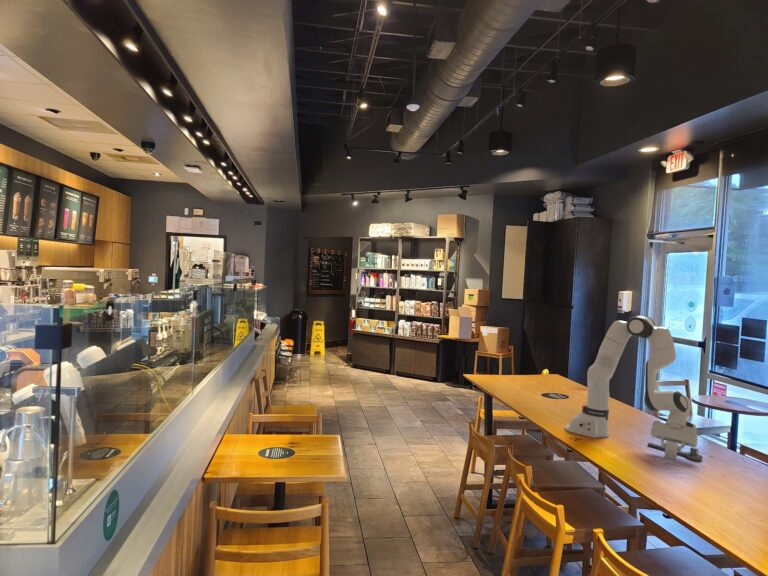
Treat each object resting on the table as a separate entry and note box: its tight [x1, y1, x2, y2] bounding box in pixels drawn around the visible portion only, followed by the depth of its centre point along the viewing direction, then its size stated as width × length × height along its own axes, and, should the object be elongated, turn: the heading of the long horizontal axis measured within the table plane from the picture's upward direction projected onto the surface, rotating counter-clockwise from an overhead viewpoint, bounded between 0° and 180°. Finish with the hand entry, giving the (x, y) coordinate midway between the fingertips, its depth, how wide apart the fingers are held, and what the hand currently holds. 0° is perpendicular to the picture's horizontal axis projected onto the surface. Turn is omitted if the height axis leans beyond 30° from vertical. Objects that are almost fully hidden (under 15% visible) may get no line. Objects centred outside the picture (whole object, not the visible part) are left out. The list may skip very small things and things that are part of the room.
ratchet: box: [647, 442, 703, 462], centre depth 262 cm, size 25×7×5 cm, turn 42°
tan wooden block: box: [664, 439, 679, 461], centre depth 254 cm, size 5×5×8 cm
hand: (670, 448), depth 254 cm, fingers closed on tan wooden block, 5 cm apart
